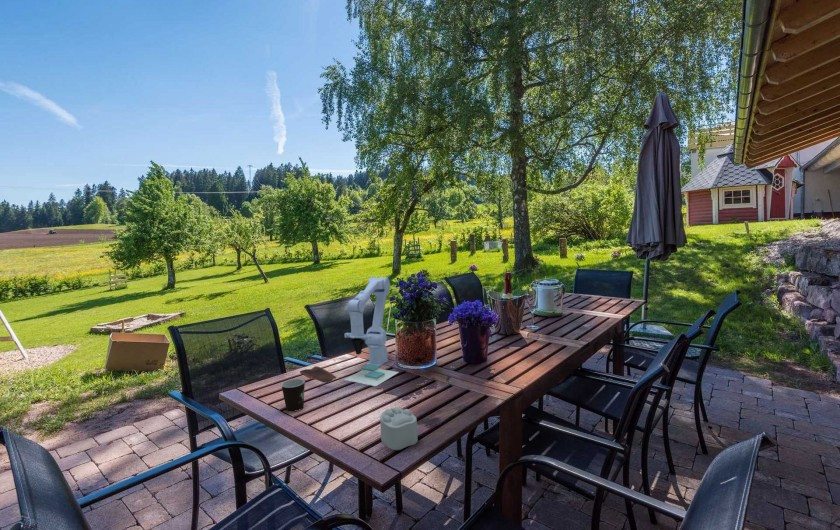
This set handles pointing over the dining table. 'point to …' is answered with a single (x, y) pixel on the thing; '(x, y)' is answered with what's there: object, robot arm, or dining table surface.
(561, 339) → the dining table surface
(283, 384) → the coffee mug
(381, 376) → the tile
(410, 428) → the lumpy-topped squat cylinder
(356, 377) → the felt mat
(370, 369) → the flat tile
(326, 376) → the wooden tablet
